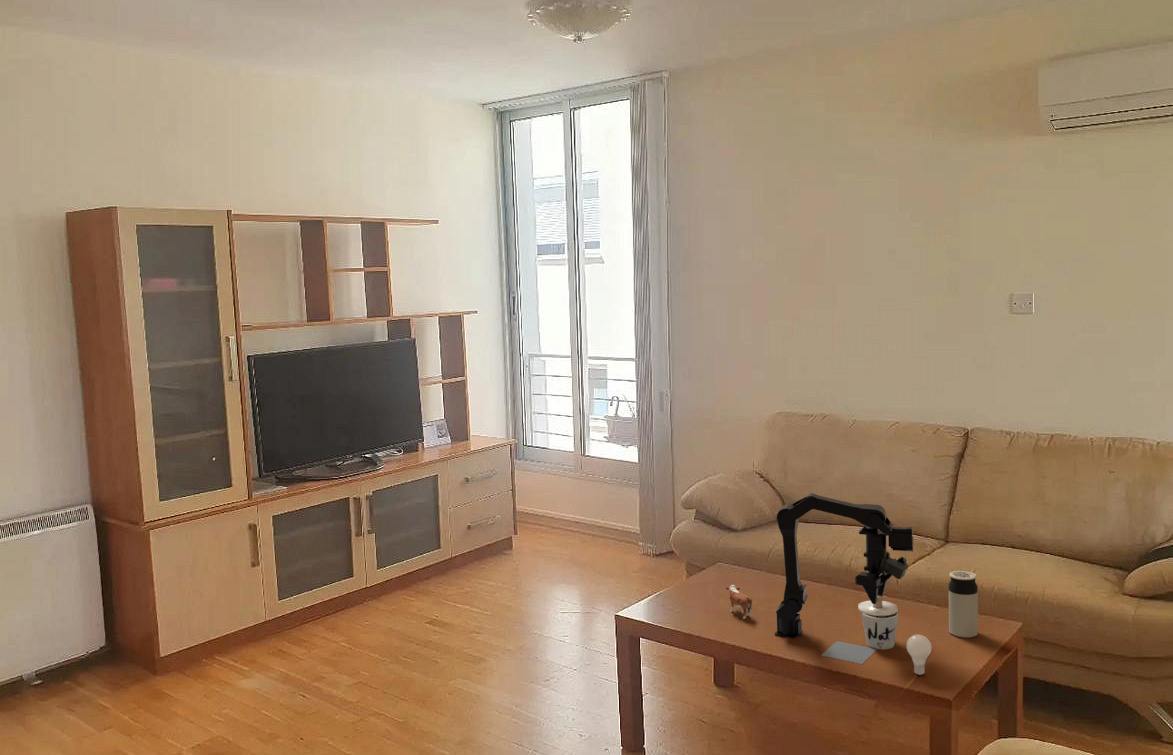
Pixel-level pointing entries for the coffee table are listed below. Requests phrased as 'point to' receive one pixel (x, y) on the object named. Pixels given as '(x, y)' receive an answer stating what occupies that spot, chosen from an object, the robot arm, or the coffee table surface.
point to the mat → (849, 652)
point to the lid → (878, 608)
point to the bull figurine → (740, 600)
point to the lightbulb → (919, 651)
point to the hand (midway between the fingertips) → (877, 601)
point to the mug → (880, 630)
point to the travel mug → (963, 604)
